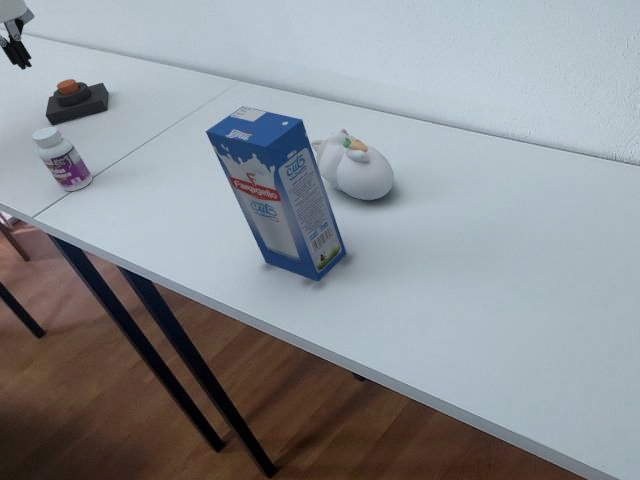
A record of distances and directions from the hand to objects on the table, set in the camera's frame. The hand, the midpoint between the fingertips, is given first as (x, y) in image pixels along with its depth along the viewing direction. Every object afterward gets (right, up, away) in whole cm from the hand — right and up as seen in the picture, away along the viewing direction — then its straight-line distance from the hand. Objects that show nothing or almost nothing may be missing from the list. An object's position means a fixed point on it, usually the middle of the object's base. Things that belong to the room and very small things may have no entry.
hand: (25, 66), depth 107 cm
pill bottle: (+7, -19, +4) cm, 20 cm away
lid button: (-6, +5, +22) cm, 23 cm away
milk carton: (+52, -35, -18) cm, 65 cm away
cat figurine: (+57, -23, -8) cm, 62 cm away
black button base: (-6, +2, +25) cm, 26 cm away
